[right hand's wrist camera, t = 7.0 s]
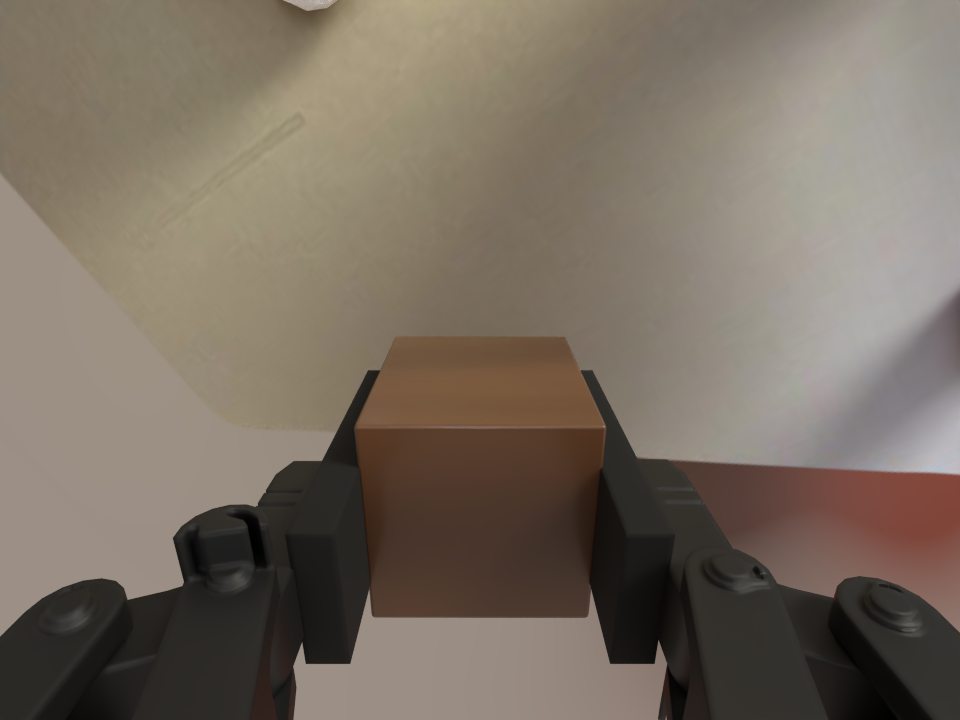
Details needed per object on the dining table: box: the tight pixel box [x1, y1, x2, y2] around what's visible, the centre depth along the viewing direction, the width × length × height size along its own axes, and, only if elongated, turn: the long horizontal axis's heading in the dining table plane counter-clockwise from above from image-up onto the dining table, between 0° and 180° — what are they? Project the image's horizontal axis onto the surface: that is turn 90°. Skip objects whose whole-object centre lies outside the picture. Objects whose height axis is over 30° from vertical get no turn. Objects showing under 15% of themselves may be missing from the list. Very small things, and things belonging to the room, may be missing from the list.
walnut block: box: [354, 337, 606, 618], centre depth 13 cm, size 4×4×5 cm
